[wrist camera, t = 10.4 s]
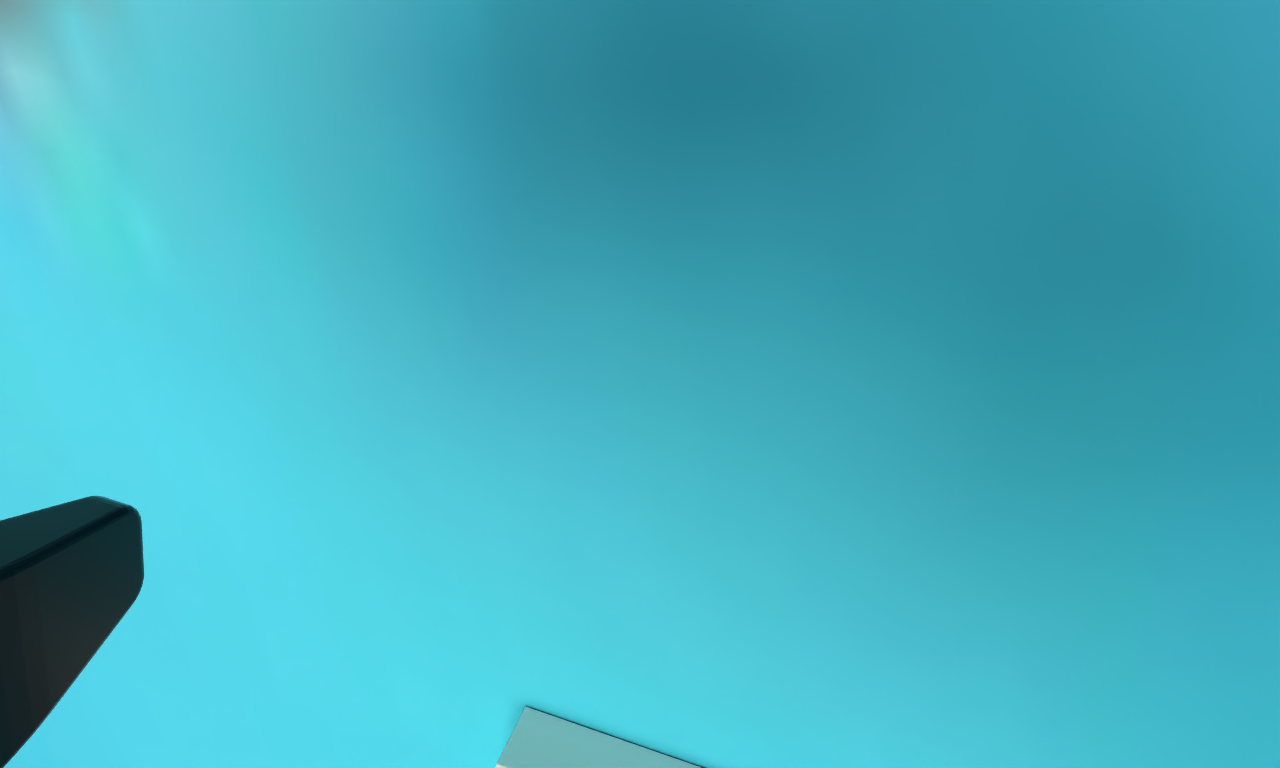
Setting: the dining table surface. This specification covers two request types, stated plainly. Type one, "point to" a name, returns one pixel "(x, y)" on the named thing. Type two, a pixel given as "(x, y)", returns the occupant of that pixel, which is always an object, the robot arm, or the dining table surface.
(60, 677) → the robot arm
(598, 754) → the panel with square recess
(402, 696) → the dining table surface
